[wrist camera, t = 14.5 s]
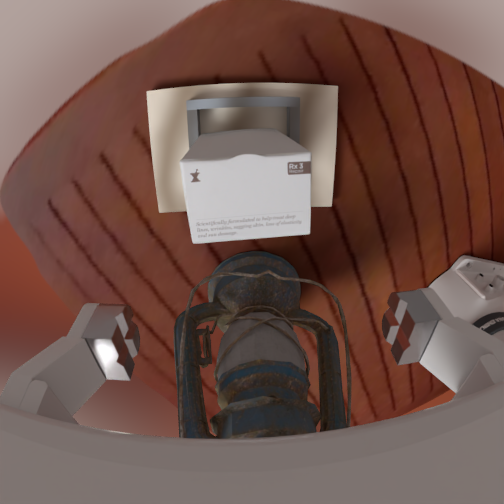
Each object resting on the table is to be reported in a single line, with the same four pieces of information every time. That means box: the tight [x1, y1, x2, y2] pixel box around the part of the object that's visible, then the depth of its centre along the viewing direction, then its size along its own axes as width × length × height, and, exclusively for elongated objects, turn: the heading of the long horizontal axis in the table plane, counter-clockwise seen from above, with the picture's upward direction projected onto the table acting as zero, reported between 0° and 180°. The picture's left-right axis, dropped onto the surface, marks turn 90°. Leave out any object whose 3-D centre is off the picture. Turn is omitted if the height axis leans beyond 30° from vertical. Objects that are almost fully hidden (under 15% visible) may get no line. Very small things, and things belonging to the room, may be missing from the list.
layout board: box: [147, 83, 338, 213], centre depth 31 cm, size 20×14×4 cm
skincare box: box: [180, 128, 312, 243], centre depth 25 cm, size 8×6×15 cm
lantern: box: [174, 251, 351, 439], centre depth 29 cm, size 19×14×30 cm
